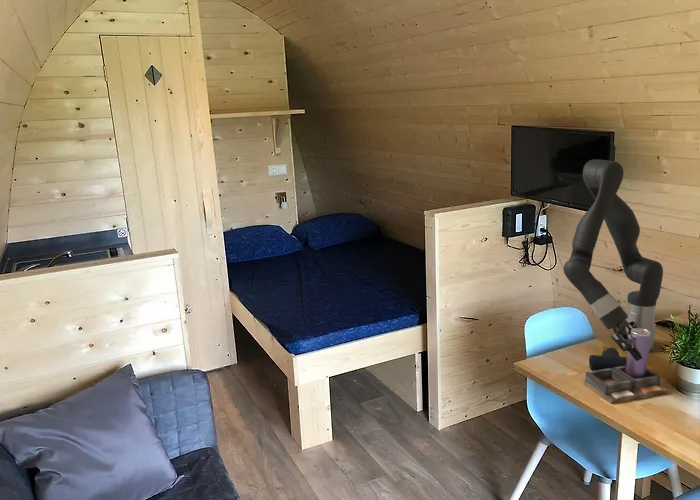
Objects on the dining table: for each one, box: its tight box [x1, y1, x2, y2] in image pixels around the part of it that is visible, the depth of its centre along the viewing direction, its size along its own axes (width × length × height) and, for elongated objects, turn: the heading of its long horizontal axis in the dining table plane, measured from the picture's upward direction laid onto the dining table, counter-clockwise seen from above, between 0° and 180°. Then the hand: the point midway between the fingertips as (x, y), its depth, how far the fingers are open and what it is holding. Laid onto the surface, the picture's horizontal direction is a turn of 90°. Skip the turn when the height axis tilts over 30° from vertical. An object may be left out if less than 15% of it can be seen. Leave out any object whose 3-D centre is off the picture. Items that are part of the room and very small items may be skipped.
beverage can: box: [625, 328, 651, 379], centre depth 183 cm, size 6×6×15 cm
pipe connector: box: [588, 346, 627, 371], centre depth 197 cm, size 12×5×15 cm
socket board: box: [583, 366, 669, 405], centre depth 182 cm, size 20×13×4 cm, turn 105°
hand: (643, 356), depth 182 cm, fingers closed on beverage can, 6 cm apart
